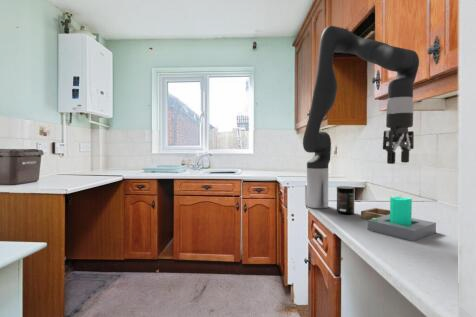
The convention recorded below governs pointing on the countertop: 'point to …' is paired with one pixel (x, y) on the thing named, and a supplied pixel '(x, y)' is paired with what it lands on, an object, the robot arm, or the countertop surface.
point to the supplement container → (345, 200)
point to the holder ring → (374, 213)
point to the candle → (400, 210)
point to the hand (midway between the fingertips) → (398, 163)
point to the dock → (402, 228)
